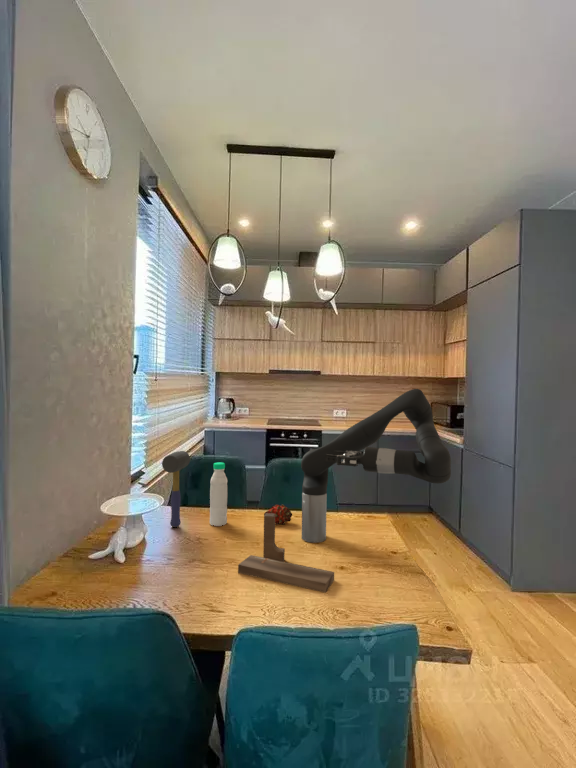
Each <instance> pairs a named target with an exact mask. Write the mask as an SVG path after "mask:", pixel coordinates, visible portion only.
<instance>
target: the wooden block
mask: <svg viewBox="0 0 576 768" xmlns="http://www.w3.org/2000/svg"><path fill="white" fill-rule="evenodd" d="M275 536H276V524H275V514H274V513H266V514H265V515H264V514H263V552H262V553H263V554H262V555H263V556H262V557H263V558H268V559H273V560H278V561H283V562H285V548H284V547H279V546H278V545H276V537H275Z"/></svg>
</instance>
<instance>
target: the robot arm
mask: <svg viewBox="0 0 576 768" xmlns="http://www.w3.org/2000/svg"><path fill="white" fill-rule="evenodd" d="M401 413H404V416H405V417H406V418H407V419H408V420H409V422H410V423H411V424H412V425H413V427H414V429H415V430H416V431H415V441H416V443H417V446H418V450H419V452H420V453H421V456H423V457H424V462H422V461H419V459H418V457H417V455H416V452H414V451H412V450H401V449H393V448H385V447H373V446H371V445H373V444H375V443H377V442H378V441H379V440H380V439H381V437H382V435H383V434H384V433H385V432H386V429H387V428H388V425H389V424H390V423H391V421H392V420H393V419H394V418H396V417H397V416H398V415H399V414H401ZM433 416H434V415H433V408H432V406H431V404H430V402H429V400H428V399H427V397H426V395H425V393H424V392H423V390H421V389H420V388H413V389H410V390H407V391H406V392H404V393H402V394H401V395H399V396H398V397H396V398H395V399H393V400H392V401H391V402H389V403H388V404H386V405H385V406H383V407H382V408H381V409H379V410H378V411H376V412H374V413H373V414H372V413H371V415H369V416H367V417H366V418H363V419H361V420H360V421H359V422H357V423H355V424H353V425H352V426H350V427H348V428H347V429H346V430H344V431H343V432H342V433H340V434H339V435H338V436H337V437H335V438H334V439H333V440H331V441H329V442H328V443H326V444H324V445H323V446H321V447H318V448H313V449H310V450H309V451H307V452H305V454H304V455H303V456H302V458H301V463H300V468H301V470H302V472H303V482H302V489H301V490H302V491H301V492H302V493H301V539H302V541H305V542H308V543H322V542H326V540H327V502H328V501H327V498H328V497H327V493H328V491H327V490H328V483H329V481H328V480H329V469H330V467H332V466H333V465H335V464H336V465H338V466H345V467H346V466H347V467H357V466H358V465H362V467H363V470H364V472H366V473H368V472H369V473H377V474H390V475H391V474H396V475H407V476H411V477H414V478H416V479H420V480H423V481H425V482H428V483H431V484H432V483H433V484H439V485H440V484H444V483H447V482H448V481H449V480H450V479H451V476H452V468H451V467H452V465H451V464H452V463H451V462H452V460H451V455H450V451H449V450H448V448H447V447H446V446H445V445H444V443H443V441H442V439H441V437H440V435H439V432H438V430H437V429H436V427H435V424H434V417H433ZM362 450H363V451H362ZM342 460H343V461H342Z"/></svg>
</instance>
